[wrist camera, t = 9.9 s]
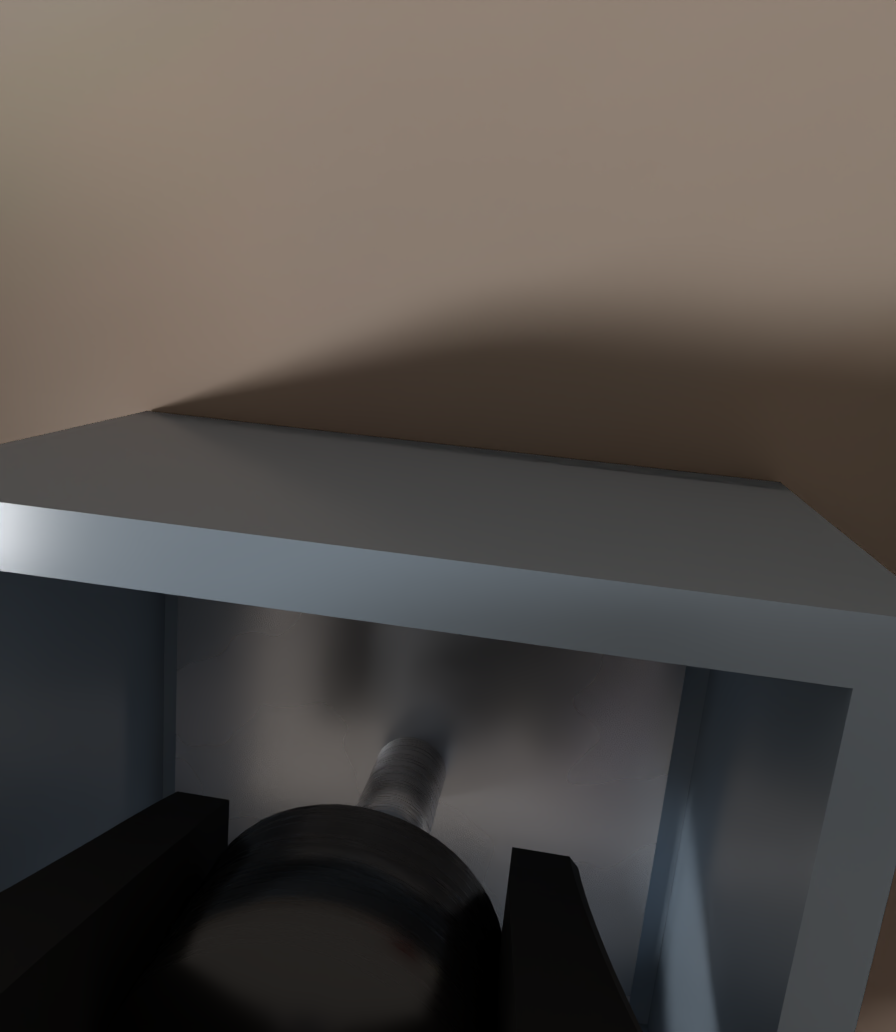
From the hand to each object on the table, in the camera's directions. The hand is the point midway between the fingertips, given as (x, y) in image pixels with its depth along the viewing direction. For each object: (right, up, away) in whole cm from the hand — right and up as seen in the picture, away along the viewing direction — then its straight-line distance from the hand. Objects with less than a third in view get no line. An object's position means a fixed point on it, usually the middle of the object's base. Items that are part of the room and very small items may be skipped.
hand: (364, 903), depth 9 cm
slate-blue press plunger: (0, +1, +3) cm, 3 cm away
